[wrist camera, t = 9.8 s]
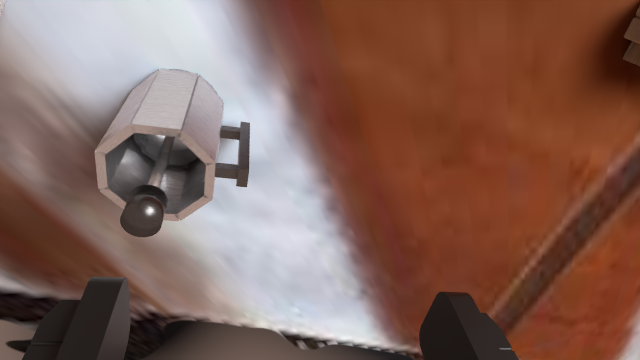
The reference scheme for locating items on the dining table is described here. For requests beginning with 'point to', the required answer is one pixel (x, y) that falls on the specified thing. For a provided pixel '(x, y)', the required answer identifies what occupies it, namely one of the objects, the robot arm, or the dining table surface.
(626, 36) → the notched grey slab
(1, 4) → the mug
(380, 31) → the dining table surface
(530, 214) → the dining table surface
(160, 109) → the carafe
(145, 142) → the plunger
